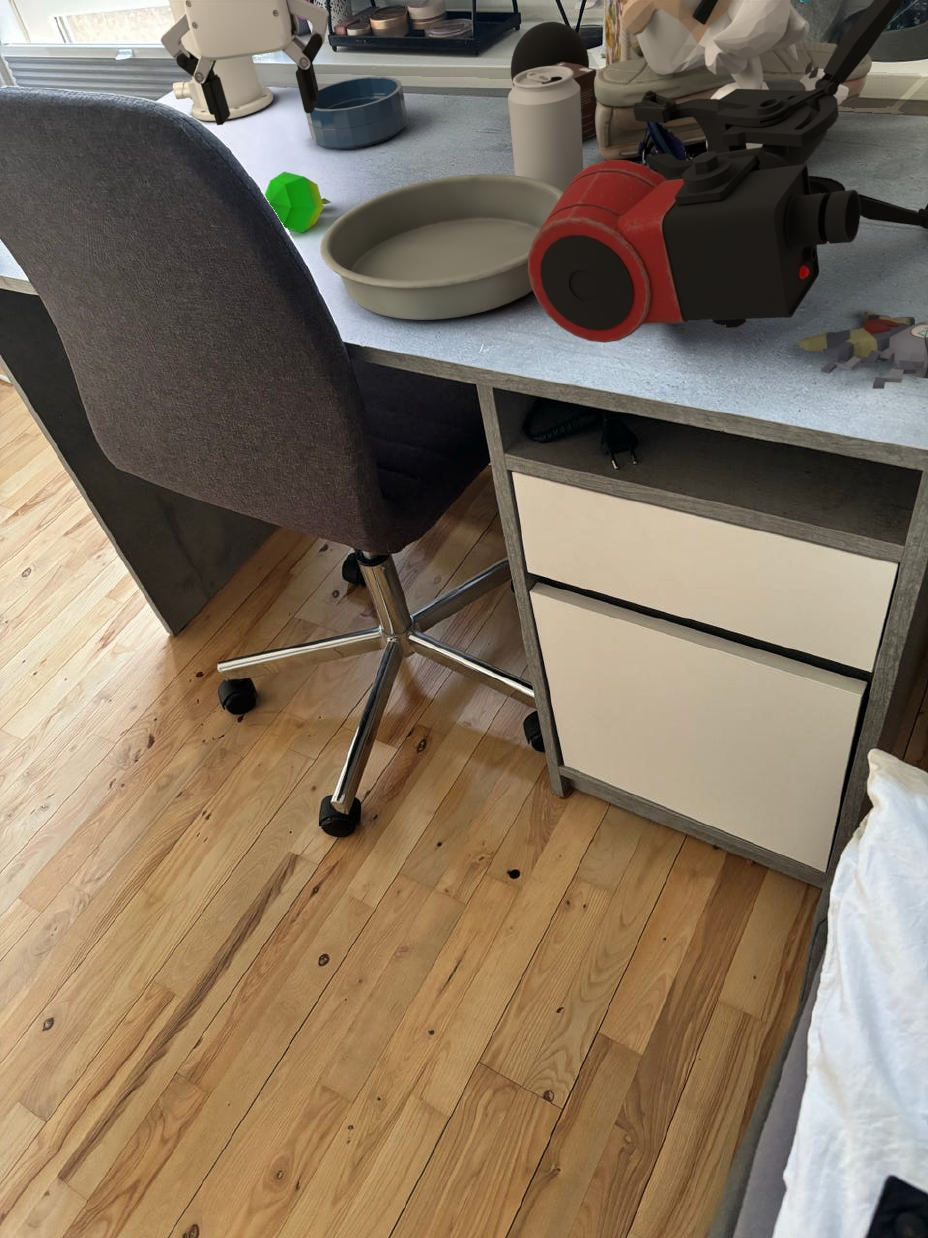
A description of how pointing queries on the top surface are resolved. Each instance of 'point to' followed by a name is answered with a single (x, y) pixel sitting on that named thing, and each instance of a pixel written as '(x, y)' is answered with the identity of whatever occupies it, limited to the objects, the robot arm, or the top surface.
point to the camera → (708, 213)
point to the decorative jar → (619, 35)
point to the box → (585, 96)
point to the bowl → (358, 112)
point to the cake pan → (441, 245)
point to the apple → (295, 201)
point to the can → (546, 125)
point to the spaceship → (660, 144)
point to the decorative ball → (548, 48)
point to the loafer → (690, 93)
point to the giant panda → (787, 88)
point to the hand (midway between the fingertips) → (267, 114)
